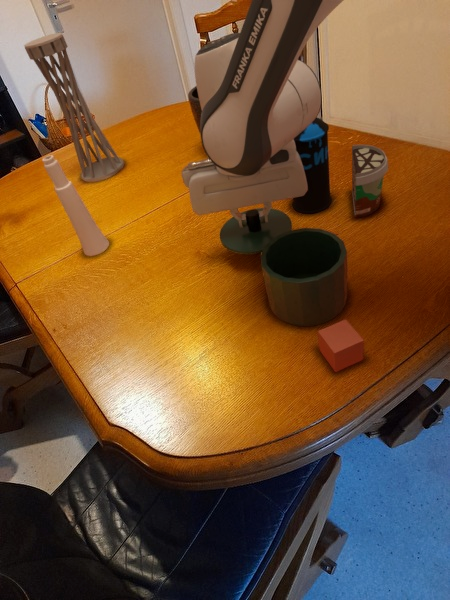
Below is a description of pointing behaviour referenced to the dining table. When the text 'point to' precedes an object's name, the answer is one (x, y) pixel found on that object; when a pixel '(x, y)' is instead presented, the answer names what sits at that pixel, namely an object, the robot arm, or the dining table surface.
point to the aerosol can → (314, 167)
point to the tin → (305, 276)
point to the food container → (367, 178)
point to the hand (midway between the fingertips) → (254, 223)
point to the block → (341, 345)
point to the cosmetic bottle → (76, 210)
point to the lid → (254, 231)
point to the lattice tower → (101, 166)
